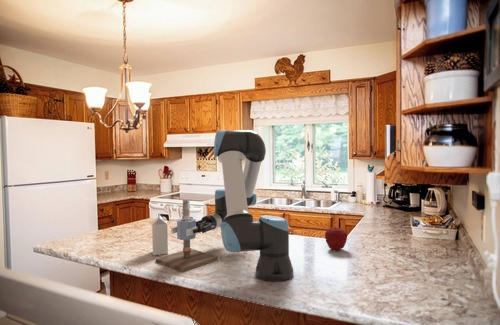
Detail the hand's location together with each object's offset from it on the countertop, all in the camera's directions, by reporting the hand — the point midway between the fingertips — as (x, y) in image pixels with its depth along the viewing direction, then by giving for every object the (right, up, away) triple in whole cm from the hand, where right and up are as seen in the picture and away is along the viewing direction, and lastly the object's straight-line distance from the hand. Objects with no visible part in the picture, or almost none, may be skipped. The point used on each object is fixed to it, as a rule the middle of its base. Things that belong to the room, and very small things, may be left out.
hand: (179, 231), depth 143 cm
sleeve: (+2, -3, +4) cm, 6 cm away
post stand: (+3, -14, +4) cm, 15 cm away
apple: (+75, -13, +18) cm, 78 cm away
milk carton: (-13, -14, +17) cm, 26 cm away
